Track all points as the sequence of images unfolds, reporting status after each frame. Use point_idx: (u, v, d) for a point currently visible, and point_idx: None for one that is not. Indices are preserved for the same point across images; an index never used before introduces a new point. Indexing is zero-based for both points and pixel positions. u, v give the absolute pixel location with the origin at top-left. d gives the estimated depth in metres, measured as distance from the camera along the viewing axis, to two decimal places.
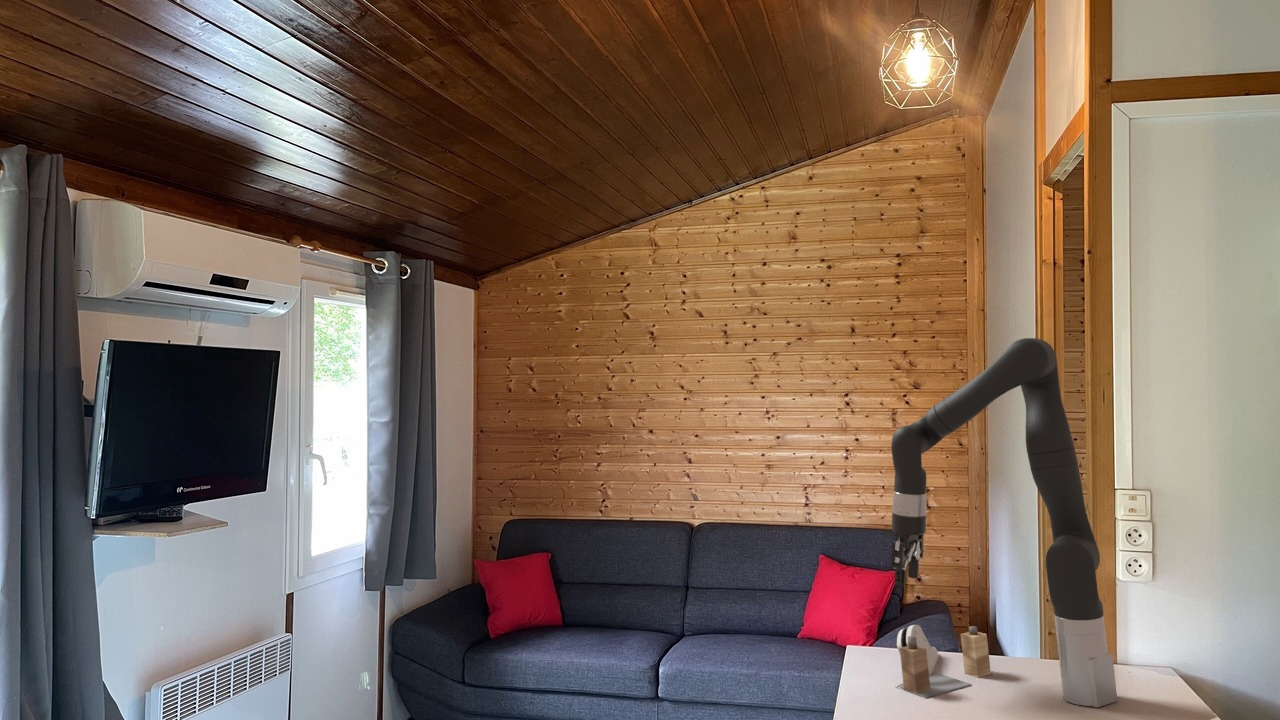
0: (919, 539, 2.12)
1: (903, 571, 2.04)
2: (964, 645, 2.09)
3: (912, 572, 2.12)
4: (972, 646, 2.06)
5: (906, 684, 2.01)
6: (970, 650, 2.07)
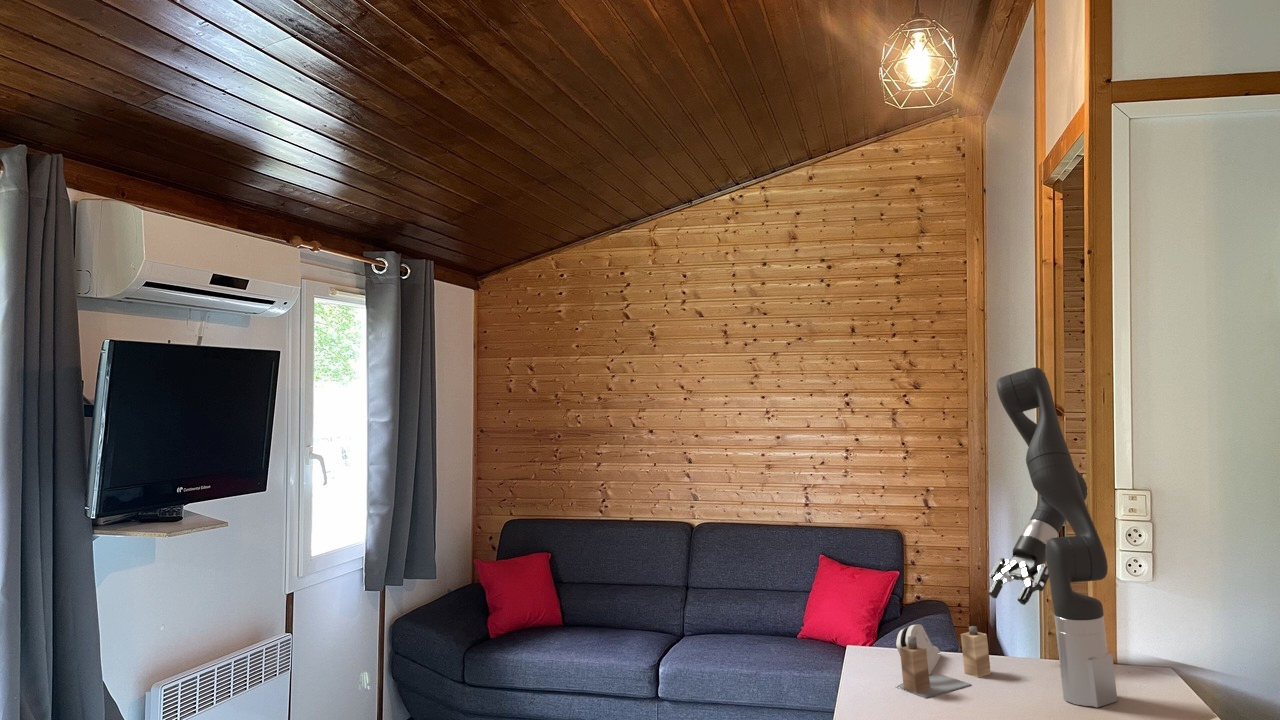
0: None
1: (995, 582, 2.19)
2: (964, 645, 2.09)
3: None
4: (972, 646, 2.06)
5: (906, 684, 2.01)
6: (970, 650, 2.07)
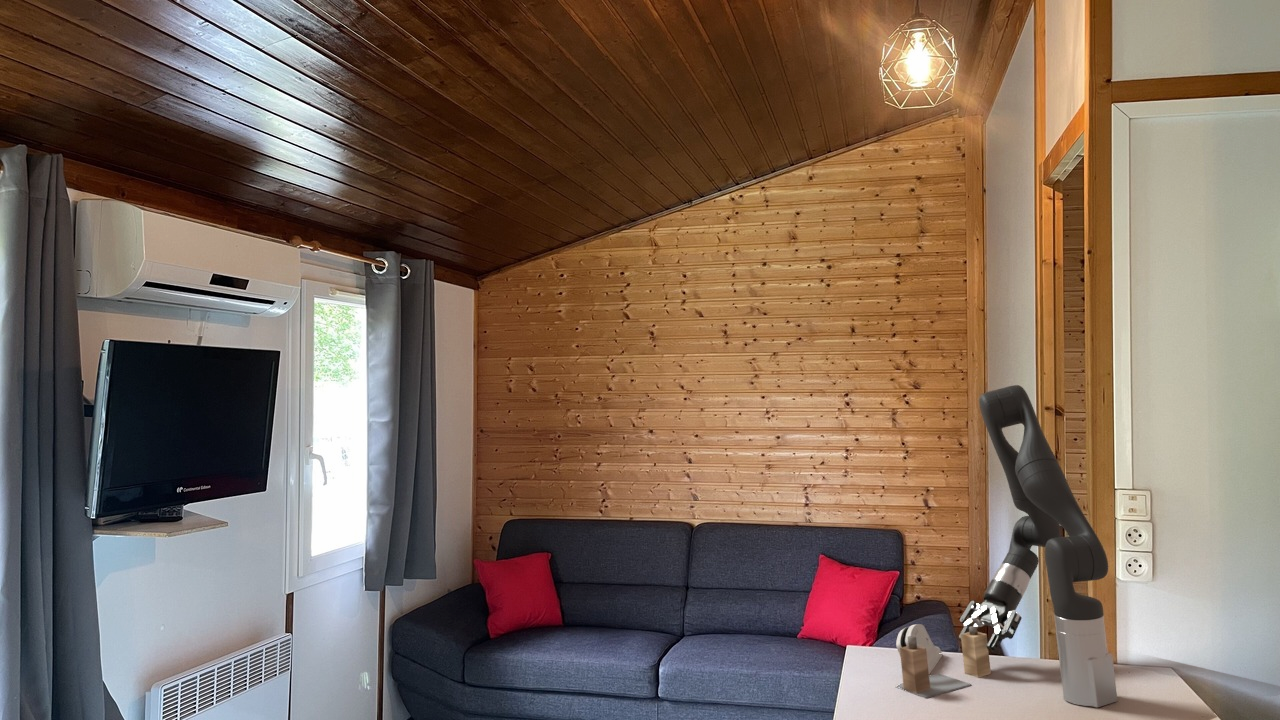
0: None
1: (965, 627, 2.14)
2: (964, 645, 2.09)
3: None
4: (972, 646, 2.06)
5: (906, 684, 2.01)
6: (970, 650, 2.07)
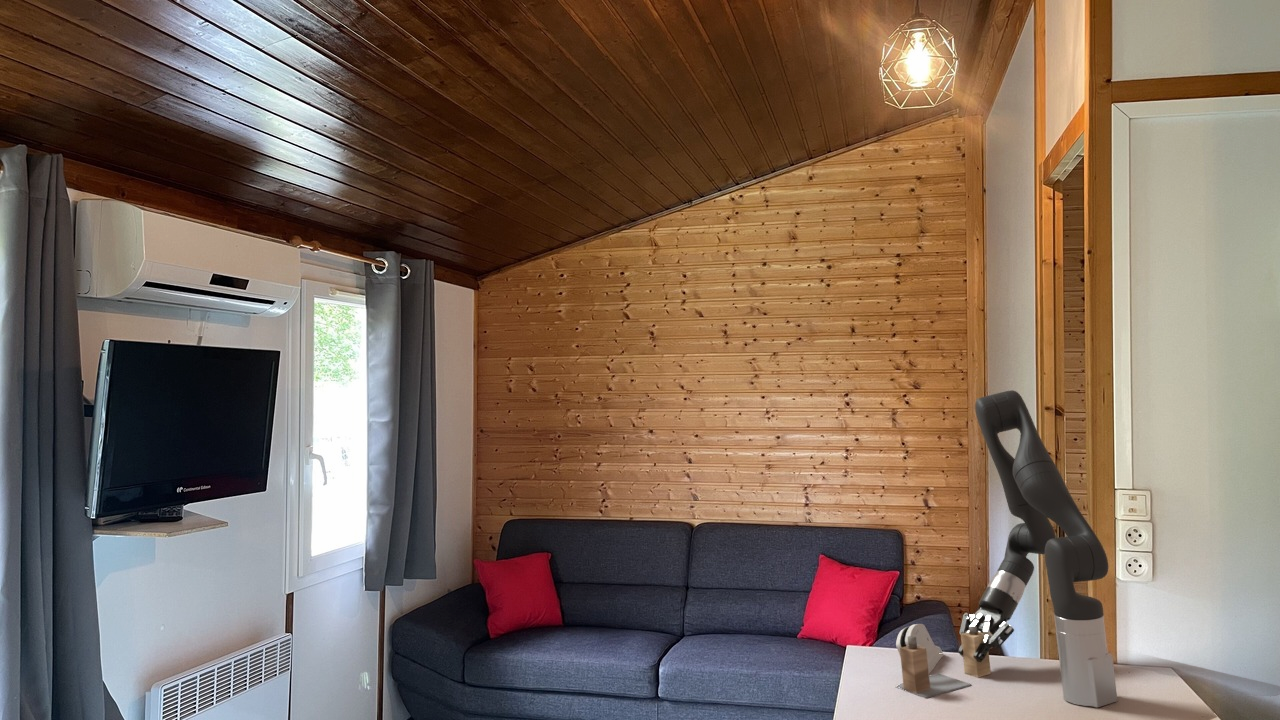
0: None
1: None
2: (964, 645, 2.09)
3: None
4: (972, 646, 2.06)
5: (906, 684, 2.01)
6: (970, 650, 2.07)
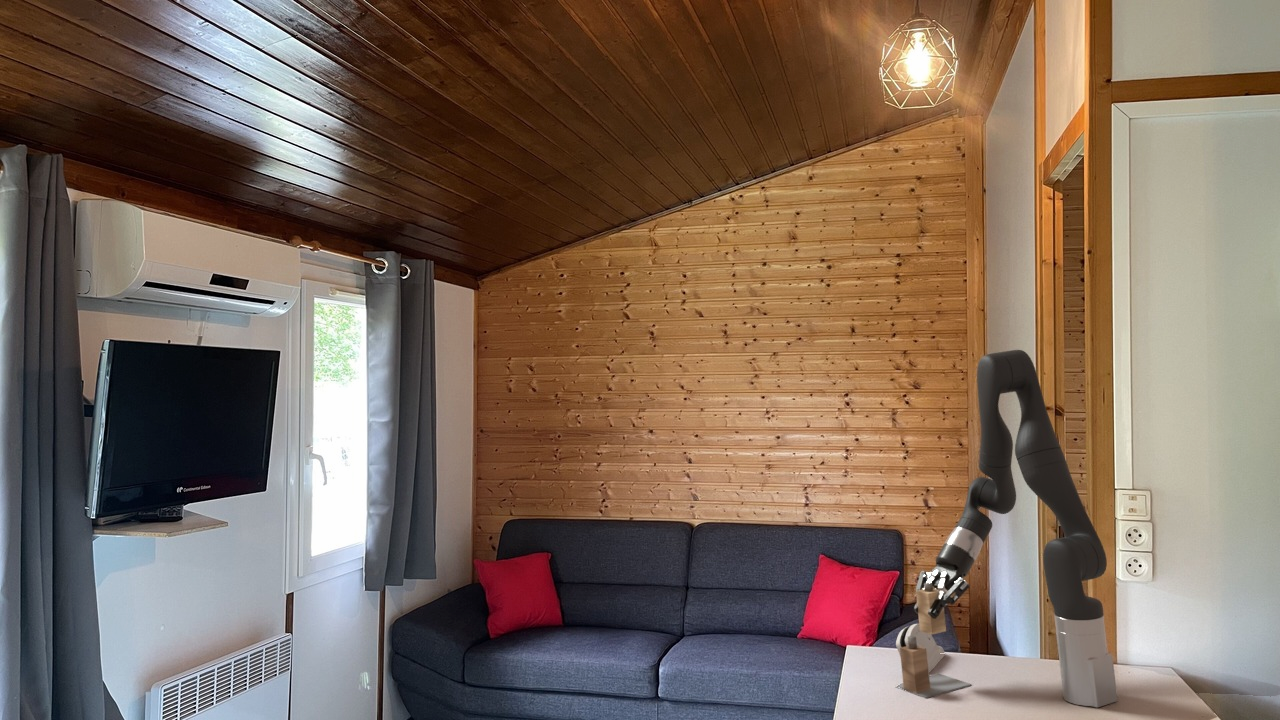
0: None
1: None
2: (919, 602, 2.04)
3: None
4: (926, 602, 2.02)
5: (906, 684, 2.01)
6: (925, 607, 2.03)
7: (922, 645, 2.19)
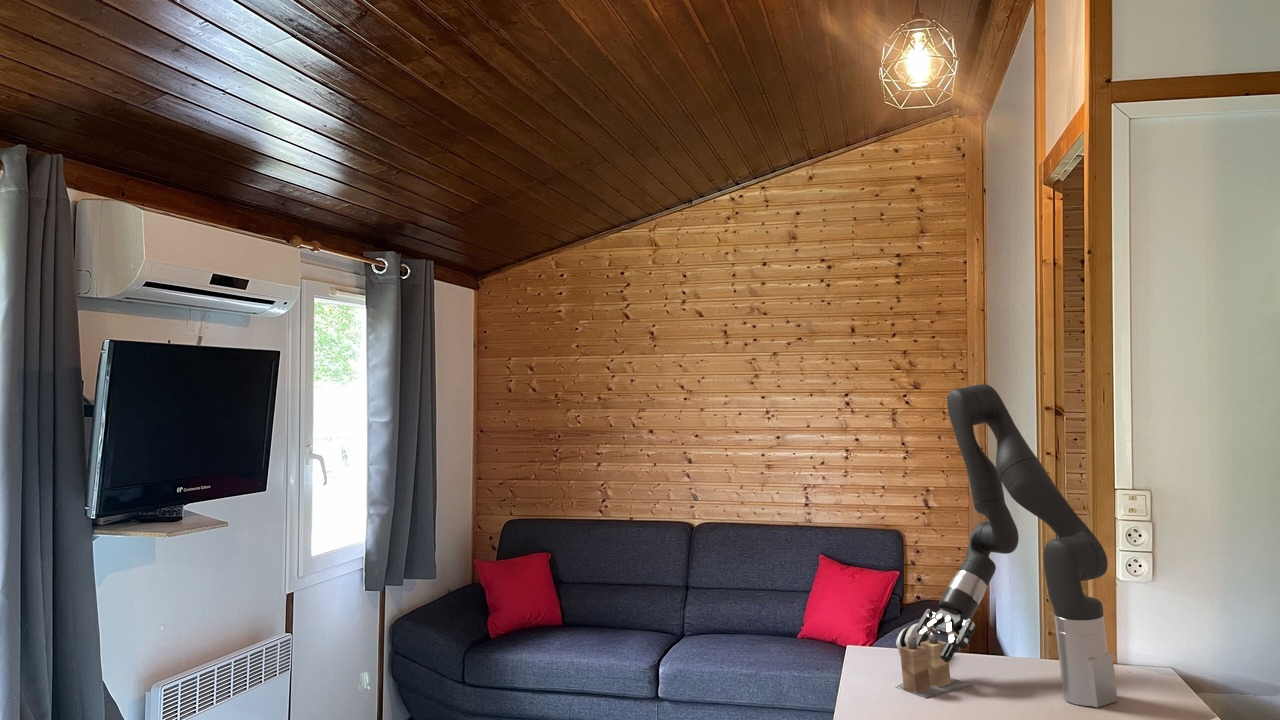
0: None
1: None
2: None
3: None
4: (931, 655, 2.02)
5: (906, 684, 2.01)
6: (929, 659, 2.02)
7: None
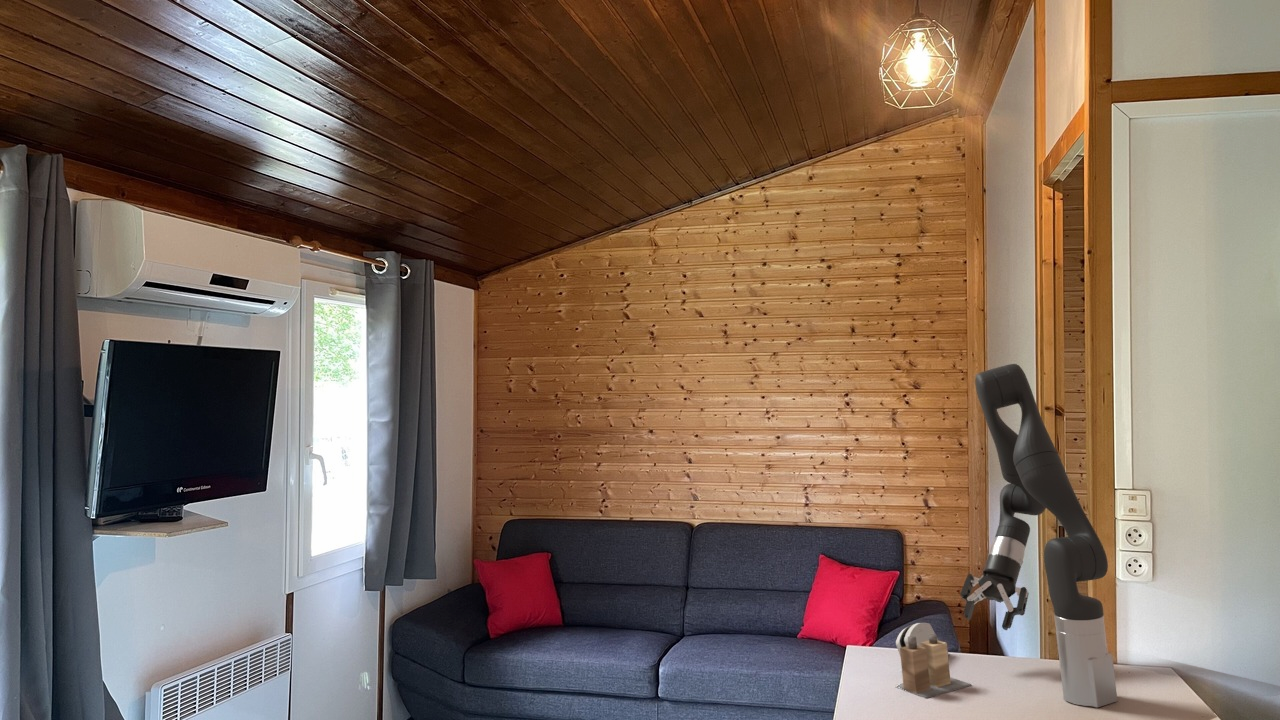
0: None
1: (968, 602, 2.13)
2: None
3: None
4: (931, 655, 2.02)
5: (906, 684, 2.01)
6: (929, 659, 2.02)
7: None
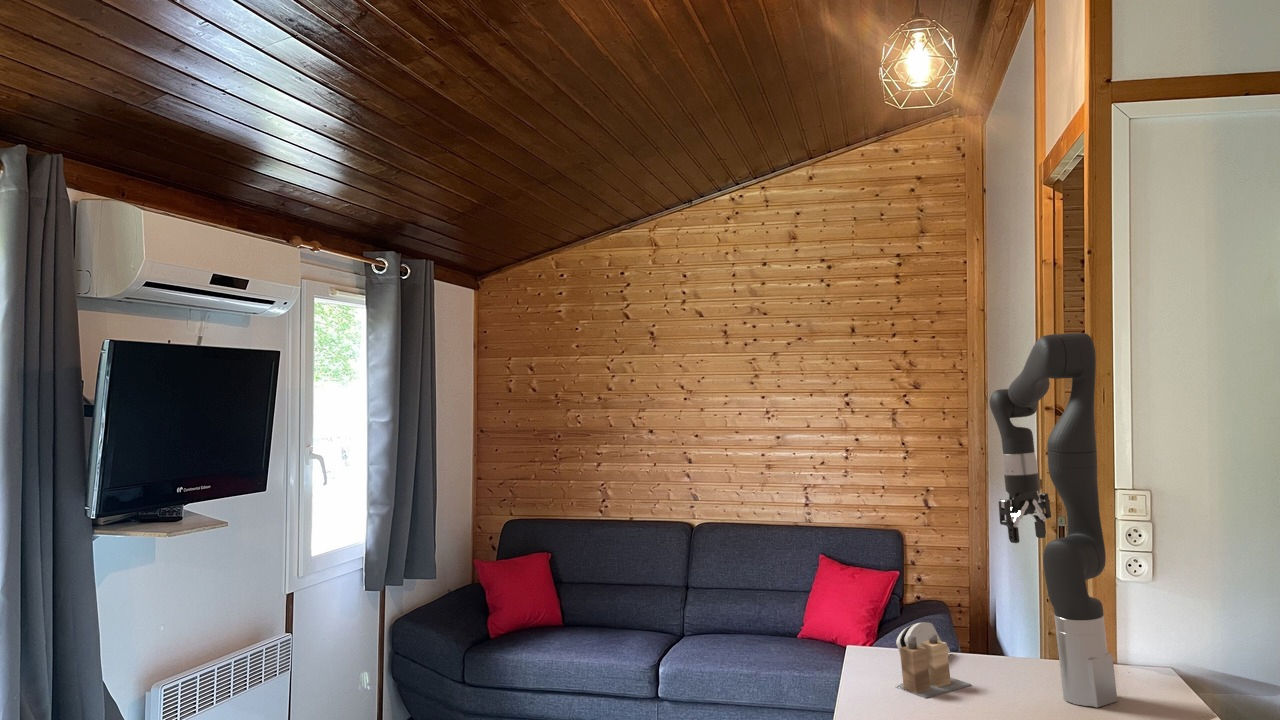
0: (1043, 499, 2.17)
1: (1014, 528, 2.13)
2: None
3: (1039, 532, 2.17)
4: (931, 655, 2.02)
5: (906, 684, 2.01)
6: (929, 659, 2.02)
7: None
